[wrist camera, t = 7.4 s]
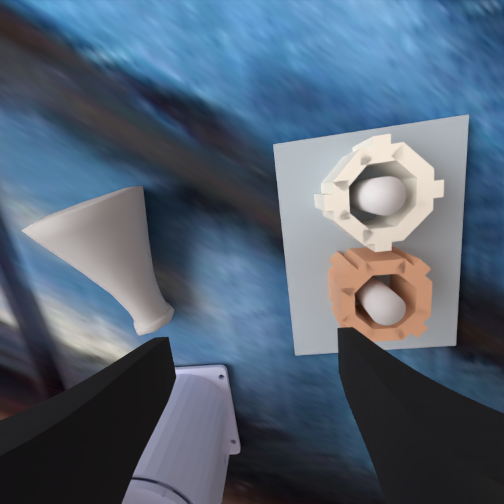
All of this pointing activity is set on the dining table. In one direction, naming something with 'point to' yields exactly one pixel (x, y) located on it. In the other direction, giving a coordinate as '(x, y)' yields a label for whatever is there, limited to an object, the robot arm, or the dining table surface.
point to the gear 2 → (401, 282)
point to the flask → (110, 251)
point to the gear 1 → (387, 164)
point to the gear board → (366, 208)
